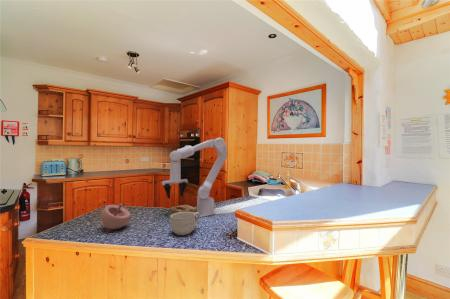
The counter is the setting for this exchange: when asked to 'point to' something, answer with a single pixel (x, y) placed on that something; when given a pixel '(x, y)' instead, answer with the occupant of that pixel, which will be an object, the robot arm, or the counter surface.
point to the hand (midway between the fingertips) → (175, 196)
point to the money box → (183, 209)
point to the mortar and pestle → (115, 216)
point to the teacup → (184, 222)
